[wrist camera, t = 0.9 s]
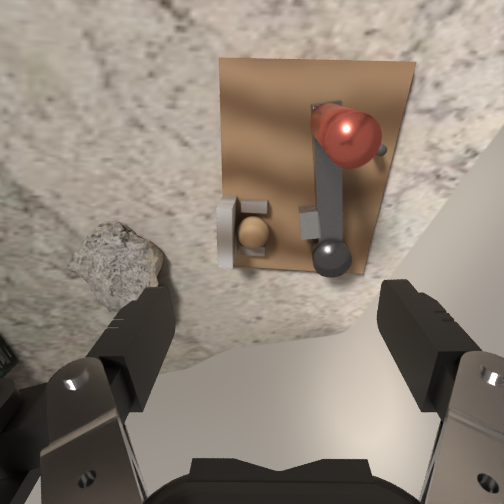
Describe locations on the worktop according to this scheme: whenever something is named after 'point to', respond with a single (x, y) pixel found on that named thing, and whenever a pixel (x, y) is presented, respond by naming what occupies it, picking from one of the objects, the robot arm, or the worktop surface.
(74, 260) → the rock
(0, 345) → the tampon box
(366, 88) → the base
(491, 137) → the worktop surface
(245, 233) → the tan wooden ball
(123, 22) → the worktop surface
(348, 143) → the lever
